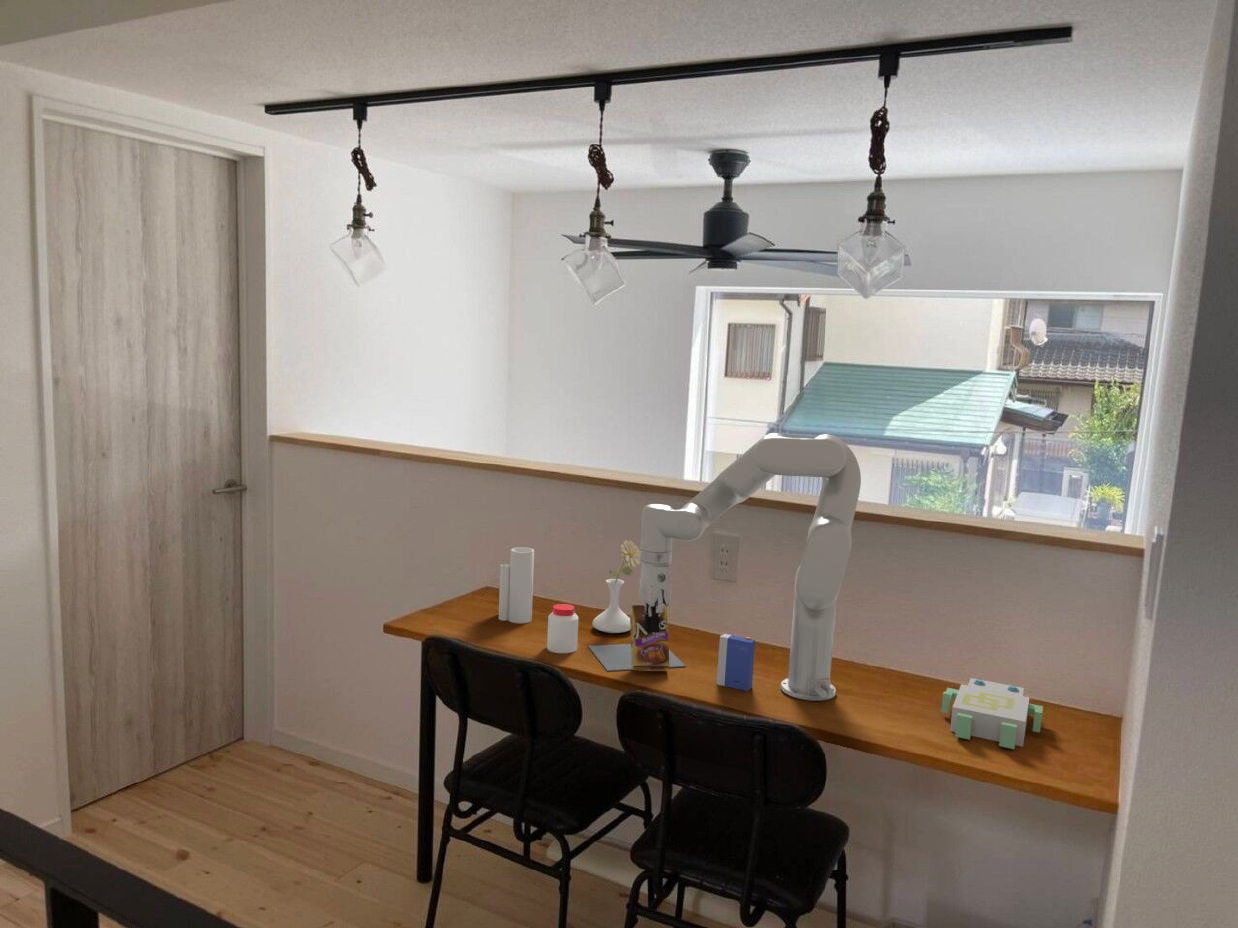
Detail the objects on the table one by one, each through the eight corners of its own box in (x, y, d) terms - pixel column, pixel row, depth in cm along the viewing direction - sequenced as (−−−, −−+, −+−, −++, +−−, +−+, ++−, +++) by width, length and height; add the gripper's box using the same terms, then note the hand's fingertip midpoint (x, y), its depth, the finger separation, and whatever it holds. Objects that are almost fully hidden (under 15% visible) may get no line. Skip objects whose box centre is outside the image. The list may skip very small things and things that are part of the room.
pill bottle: (572, 642, 245) (574, 601, 244) (580, 652, 238) (582, 610, 237) (543, 644, 243) (545, 603, 241) (551, 654, 236) (552, 611, 234)
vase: (536, 619, 264) (539, 549, 261) (520, 625, 258) (522, 554, 255) (505, 611, 270) (507, 543, 267) (488, 617, 264) (491, 547, 261)
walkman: (752, 687, 219) (755, 638, 218) (748, 691, 217) (751, 641, 215) (720, 680, 223) (723, 631, 221) (716, 684, 220) (719, 634, 219)
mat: (685, 666, 231) (685, 665, 231) (607, 671, 225) (607, 670, 225) (661, 643, 248) (661, 642, 248) (588, 646, 242) (588, 645, 242)
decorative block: (951, 671, 219) (1044, 688, 211) (948, 697, 220) (1041, 716, 211) (936, 707, 196) (1040, 728, 188) (933, 736, 197) (1036, 759, 188)
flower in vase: (604, 638, 250) (608, 546, 246) (584, 626, 260) (588, 537, 256) (646, 633, 256) (651, 543, 253) (625, 621, 266) (630, 535, 263)
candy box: (633, 665, 223) (631, 604, 230) (631, 670, 227) (628, 609, 234) (670, 665, 224) (666, 604, 231) (667, 670, 228) (663, 609, 235)
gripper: (681, 563, 216) (677, 640, 219) (660, 549, 231) (655, 621, 233) (651, 564, 214) (646, 642, 217) (631, 549, 228) (627, 622, 231)
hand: (651, 631), depth 225 cm, fingers closed
